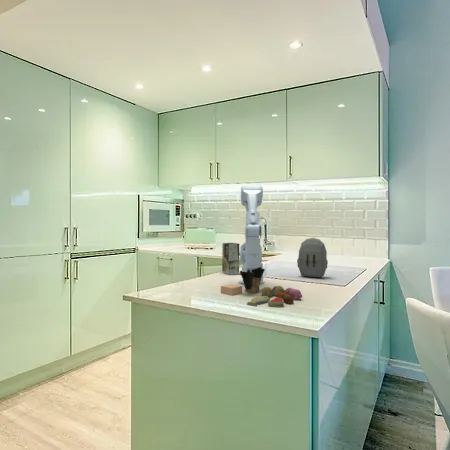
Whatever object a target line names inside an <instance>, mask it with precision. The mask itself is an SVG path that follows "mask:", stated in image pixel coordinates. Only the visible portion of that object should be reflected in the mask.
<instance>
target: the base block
mask: <svg viewBox="0 0 450 450" xmlns="http://www.w3.org/2000/svg"><path fill="white" fill-rule="evenodd" d="M220 293H221V294H224V295H229V296H235V295H240V294H243V286H242V285H238V284H234V283H233V284H232V283H230V284H225V285H221V286H220Z"/></svg>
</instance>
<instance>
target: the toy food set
mask: <svg viewBox="0 0 450 450" xmlns="http://www.w3.org/2000/svg"><path fill="white" fill-rule="evenodd" d="M261 295H262V296H261ZM261 295H260V296H256V297H252V299H251V301H248V302H246V305H247V306H252V307H257V306H258V305H259V306H261V305H265V304H267V307H269V308H270V307H271V308H283V307H284V306H285V305H284V304H287V305H293V304H294V302H295V301H298V300H300V299H301V298H302V297H303V294H302V291H300V290H299V289H297V288H293V287H287V288H285V289H284V288H283V287H282V286H281V285H275V286H273V287H272V288H271V287H270V286H264V287H263V288H261ZM271 297H274V298H272V299H270V298H271Z"/></svg>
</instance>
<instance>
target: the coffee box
mask: <svg viewBox="0 0 450 450" xmlns="http://www.w3.org/2000/svg"><path fill="white" fill-rule="evenodd" d="M221 250H222V252H221V253H222V254H221V255H222V258H221V259H222V263H221V265H222V266H221V267H222V271H221V272H222V274H226V275H228V276H230V275H231V276H234V275H240V243H237V242H222V249H221Z"/></svg>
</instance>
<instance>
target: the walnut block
mask: <svg viewBox="0 0 450 450" xmlns="http://www.w3.org/2000/svg"><path fill="white" fill-rule="evenodd" d="M259 279H260V278H255V277H253V278H252V284H251V289H250V290H249V289H245V288H244V290H245V292H246V293H251V294H255V293H256V294H257V293H260V285H259Z"/></svg>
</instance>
